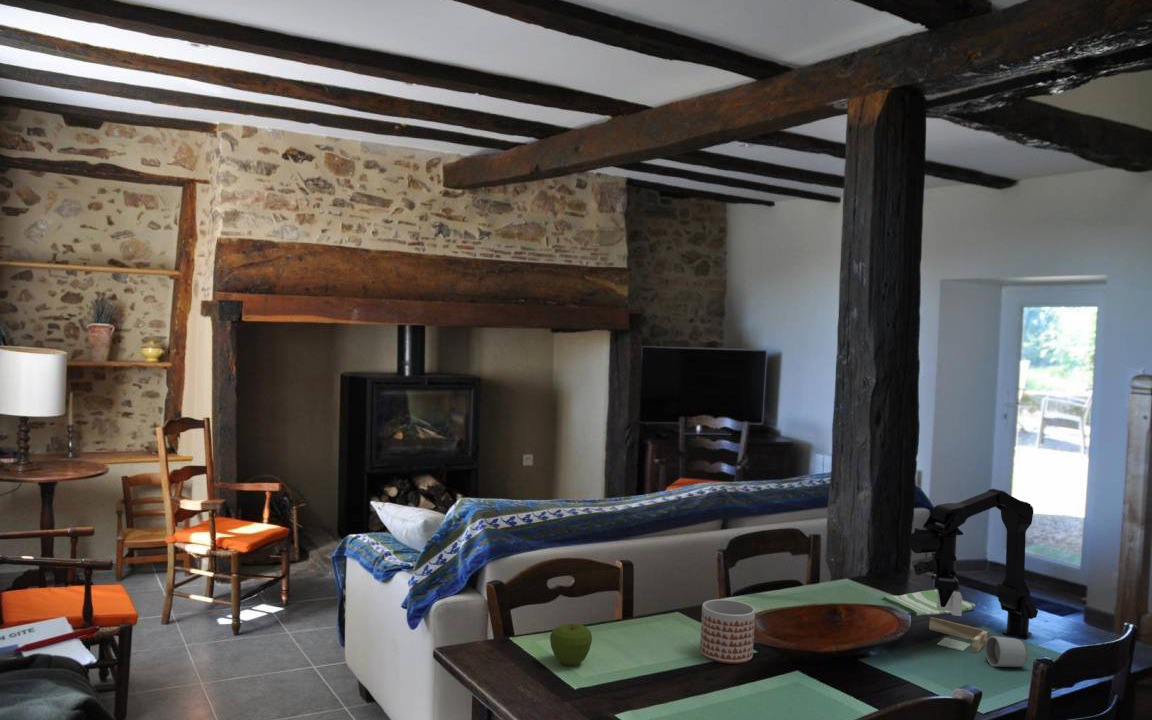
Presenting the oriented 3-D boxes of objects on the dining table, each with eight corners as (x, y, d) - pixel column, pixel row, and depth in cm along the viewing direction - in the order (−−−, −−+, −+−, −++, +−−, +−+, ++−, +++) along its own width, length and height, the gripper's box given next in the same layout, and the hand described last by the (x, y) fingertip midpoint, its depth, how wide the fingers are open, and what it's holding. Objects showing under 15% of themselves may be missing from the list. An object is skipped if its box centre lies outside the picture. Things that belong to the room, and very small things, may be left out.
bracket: (959, 609, 257) (959, 592, 256) (961, 616, 251) (962, 598, 251) (936, 607, 258) (937, 589, 258) (938, 613, 253) (939, 595, 252)
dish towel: (879, 600, 296) (880, 591, 296) (937, 596, 304) (938, 588, 304) (917, 618, 280) (917, 609, 280) (977, 613, 287) (978, 604, 287)
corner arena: (930, 628, 268) (931, 616, 268) (988, 643, 258) (989, 630, 258) (916, 637, 259) (917, 625, 259) (975, 653, 249) (976, 640, 249)
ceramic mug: (1028, 671, 237) (1030, 642, 237) (999, 670, 236) (1001, 641, 236) (1005, 656, 248) (1007, 629, 248) (977, 656, 247) (978, 628, 247)
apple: (570, 652, 235) (572, 614, 234) (600, 664, 227) (602, 625, 227) (539, 661, 227) (541, 622, 227) (569, 674, 220) (571, 634, 219)
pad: (945, 638, 260) (945, 637, 260) (971, 645, 255) (971, 644, 255) (937, 644, 255) (937, 643, 254) (963, 651, 250) (963, 650, 250)
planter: (762, 655, 239) (765, 608, 239) (733, 668, 229) (736, 618, 229) (719, 641, 248) (721, 595, 248) (689, 653, 238) (691, 605, 238)
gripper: (912, 540, 267) (910, 592, 268) (916, 556, 249) (913, 612, 250) (953, 543, 264) (951, 596, 265) (960, 560, 246) (957, 617, 247)
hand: (942, 605), depth 257 cm, fingers closed on bracket, 2 cm apart
